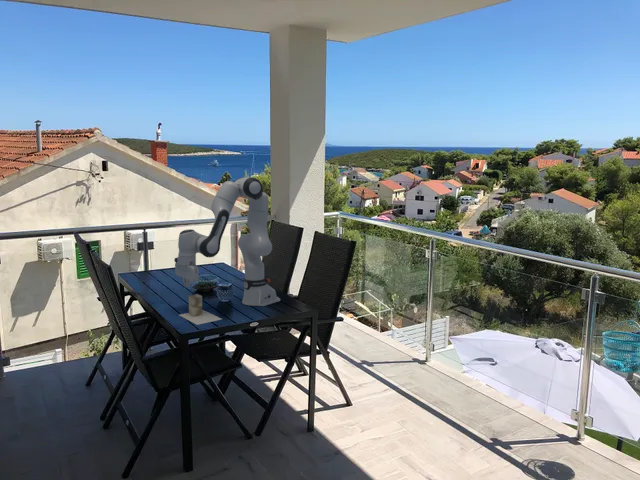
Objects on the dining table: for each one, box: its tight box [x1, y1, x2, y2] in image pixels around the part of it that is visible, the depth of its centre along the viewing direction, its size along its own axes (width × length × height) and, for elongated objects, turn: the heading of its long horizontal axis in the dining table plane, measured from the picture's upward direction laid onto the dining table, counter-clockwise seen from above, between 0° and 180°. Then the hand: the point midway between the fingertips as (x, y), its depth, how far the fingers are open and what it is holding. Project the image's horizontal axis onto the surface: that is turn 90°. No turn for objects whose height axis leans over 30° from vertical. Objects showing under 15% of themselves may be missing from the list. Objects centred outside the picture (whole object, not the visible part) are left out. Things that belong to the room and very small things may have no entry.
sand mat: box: [179, 309, 223, 326], centre depth 244 cm, size 14×20×1 cm
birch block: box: [188, 293, 203, 317], centre depth 246 cm, size 5×5×10 cm
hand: (187, 286), depth 251 cm, fingers closed
